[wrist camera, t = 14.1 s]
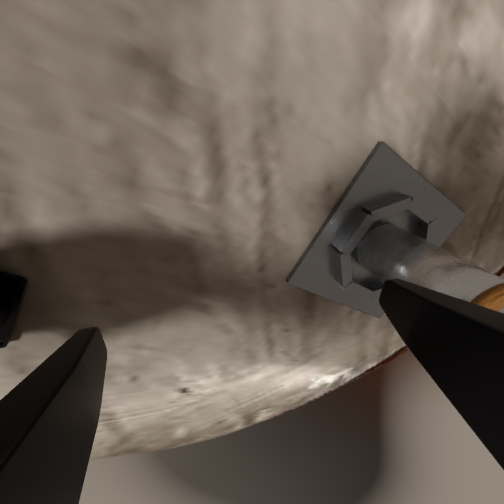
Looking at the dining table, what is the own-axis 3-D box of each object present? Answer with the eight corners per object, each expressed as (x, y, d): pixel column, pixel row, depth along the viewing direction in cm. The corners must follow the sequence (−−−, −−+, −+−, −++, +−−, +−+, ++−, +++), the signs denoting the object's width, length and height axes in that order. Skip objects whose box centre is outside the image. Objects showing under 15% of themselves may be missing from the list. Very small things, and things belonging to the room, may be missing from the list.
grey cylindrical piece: (367, 279, 27) (487, 382, 17) (348, 247, 24) (477, 344, 14) (409, 248, 26) (560, 334, 16) (394, 211, 24) (563, 285, 13)
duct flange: (376, 315, 31) (386, 325, 29) (285, 280, 25) (292, 290, 23) (462, 213, 27) (478, 219, 25) (378, 141, 21) (393, 143, 19)
